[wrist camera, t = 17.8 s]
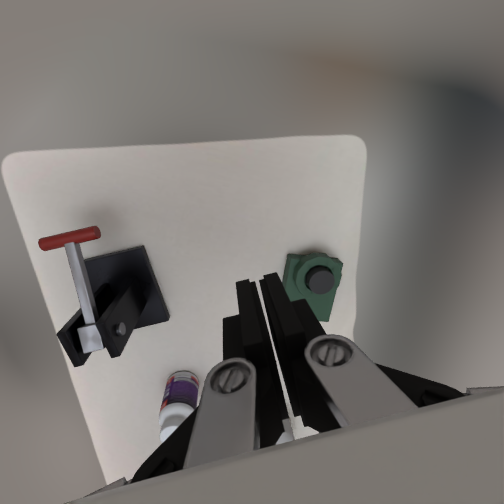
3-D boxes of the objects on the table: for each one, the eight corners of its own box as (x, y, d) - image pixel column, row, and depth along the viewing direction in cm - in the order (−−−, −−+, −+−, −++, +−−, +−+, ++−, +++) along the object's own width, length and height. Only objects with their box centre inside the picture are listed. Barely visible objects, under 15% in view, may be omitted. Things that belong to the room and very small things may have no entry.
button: (308, 264, 39) (312, 269, 37) (332, 267, 39) (337, 271, 38) (303, 288, 40) (306, 293, 38) (327, 289, 41) (331, 295, 39)
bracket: (80, 260, 39) (17, 307, 27) (143, 245, 39) (109, 285, 27) (113, 330, 43) (71, 398, 31) (170, 316, 43) (150, 378, 31)
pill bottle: (166, 370, 47) (153, 423, 37) (199, 369, 47) (193, 421, 38) (167, 395, 48) (155, 452, 39) (199, 394, 49) (194, 449, 40)
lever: (48, 238, 31) (33, 238, 29) (101, 226, 32) (89, 224, 29) (79, 349, 32) (65, 358, 30) (130, 337, 32) (121, 344, 30)
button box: (289, 245, 42) (295, 254, 38) (339, 250, 43) (351, 259, 39) (276, 311, 45) (281, 325, 41) (323, 314, 46) (332, 328, 42)
